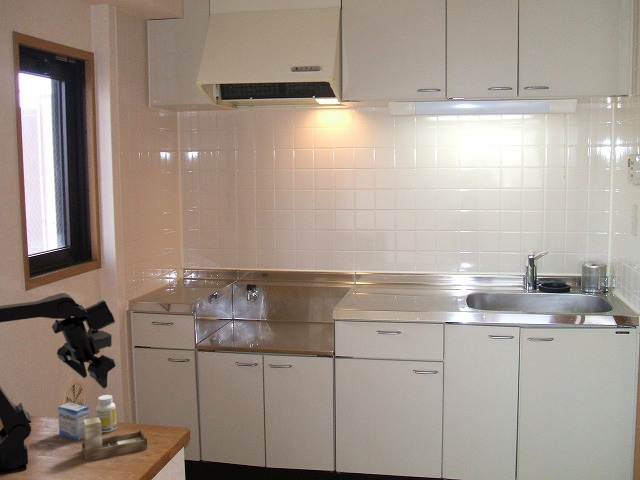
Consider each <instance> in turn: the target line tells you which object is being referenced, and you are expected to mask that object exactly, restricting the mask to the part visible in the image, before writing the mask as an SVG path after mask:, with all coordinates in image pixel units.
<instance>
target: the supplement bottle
mask: <svg viewBox="0 0 640 480" xmlns="http://www.w3.org/2000/svg"><path fill="white" fill-rule="evenodd" d="M97 403H98V404H97V405H96V407H95V410H96V411H95V412H96V418H97V417H99V419H100V421H101V429H102V433H104V432H105V433H111V432H114V431H115V430H116V429H117V411H116V409H117V407H116V404H115V402H113V395H112V394H105V395H100V396H98V398H97Z"/></svg>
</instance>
